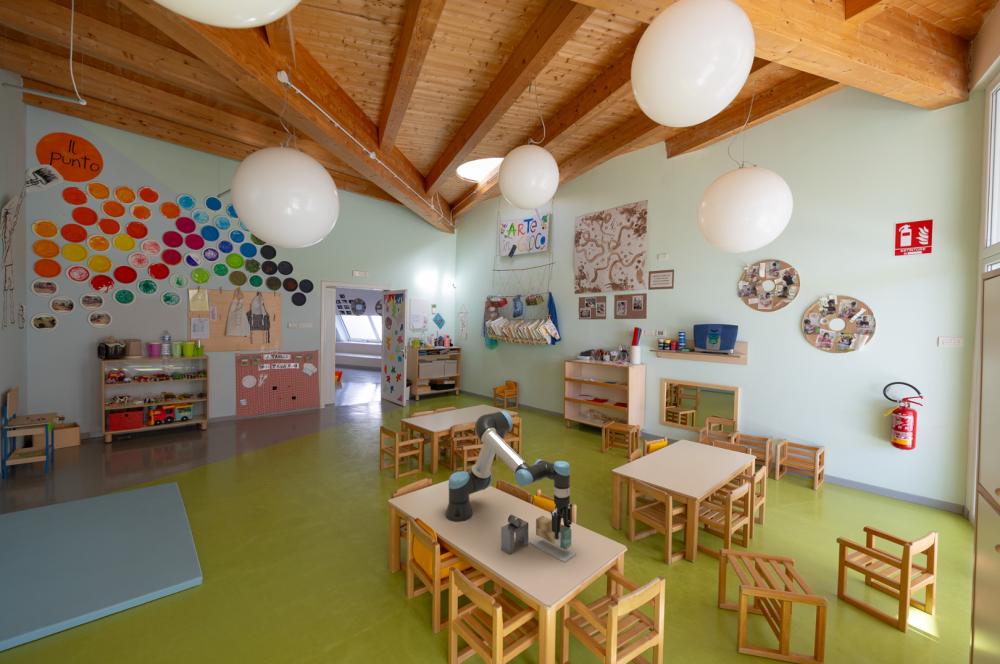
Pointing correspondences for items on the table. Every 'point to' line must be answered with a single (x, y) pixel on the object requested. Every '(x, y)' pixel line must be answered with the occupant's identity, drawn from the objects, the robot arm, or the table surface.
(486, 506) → the table surface
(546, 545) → the mat
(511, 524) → the housing
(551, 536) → the plug
